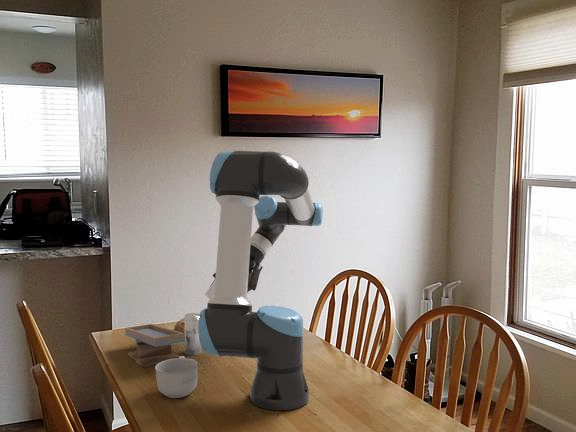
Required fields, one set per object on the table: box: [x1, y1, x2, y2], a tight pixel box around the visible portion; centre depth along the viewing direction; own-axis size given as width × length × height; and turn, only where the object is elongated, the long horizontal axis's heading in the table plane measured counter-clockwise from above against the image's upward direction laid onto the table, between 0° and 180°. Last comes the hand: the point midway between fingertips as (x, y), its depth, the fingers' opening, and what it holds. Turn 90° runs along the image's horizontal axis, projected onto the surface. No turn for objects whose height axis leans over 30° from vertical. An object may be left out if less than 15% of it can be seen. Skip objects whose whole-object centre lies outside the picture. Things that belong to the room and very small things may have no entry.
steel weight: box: [184, 312, 202, 356], centre depth 189 cm, size 5×5×12 cm
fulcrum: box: [127, 342, 181, 368], centre depth 184 cm, size 12×12×5 cm
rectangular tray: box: [124, 323, 185, 347], centre depth 184 cm, size 26×11×3 cm, turn 34°
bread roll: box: [173, 317, 185, 335], centre depth 207 cm, size 10×10×8 cm
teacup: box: [154, 355, 198, 399], centre depth 159 cm, size 14×11×8 cm
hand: (220, 301), depth 195 cm, fingers open, 13 cm apart
